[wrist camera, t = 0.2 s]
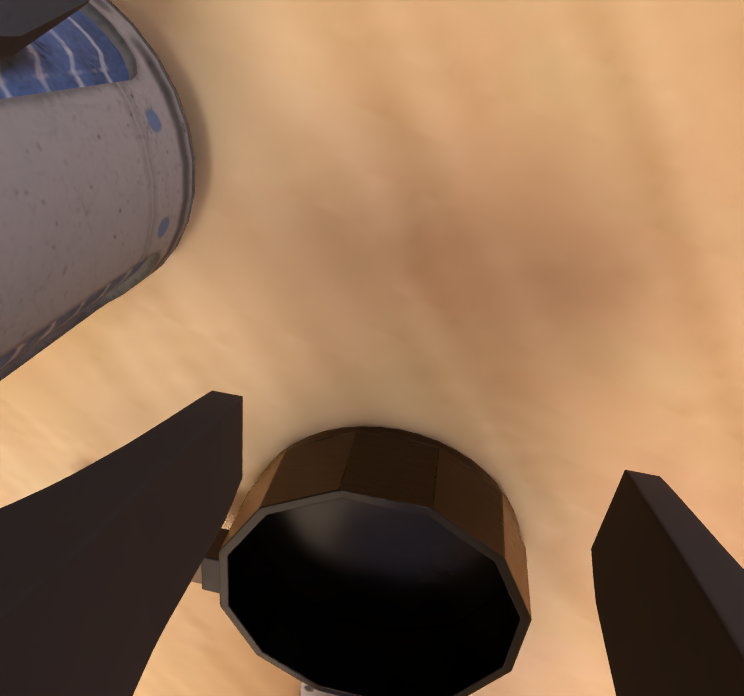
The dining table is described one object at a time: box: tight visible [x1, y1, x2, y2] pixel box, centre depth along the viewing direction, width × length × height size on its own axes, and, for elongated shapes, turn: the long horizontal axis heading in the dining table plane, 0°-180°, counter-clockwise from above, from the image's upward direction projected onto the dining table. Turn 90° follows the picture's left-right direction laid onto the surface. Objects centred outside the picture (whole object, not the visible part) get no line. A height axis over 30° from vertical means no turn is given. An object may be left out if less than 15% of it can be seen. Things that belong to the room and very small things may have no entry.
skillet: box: [191, 426, 531, 696], centre depth 25 cm, size 20×12×4 cm, turn 84°
